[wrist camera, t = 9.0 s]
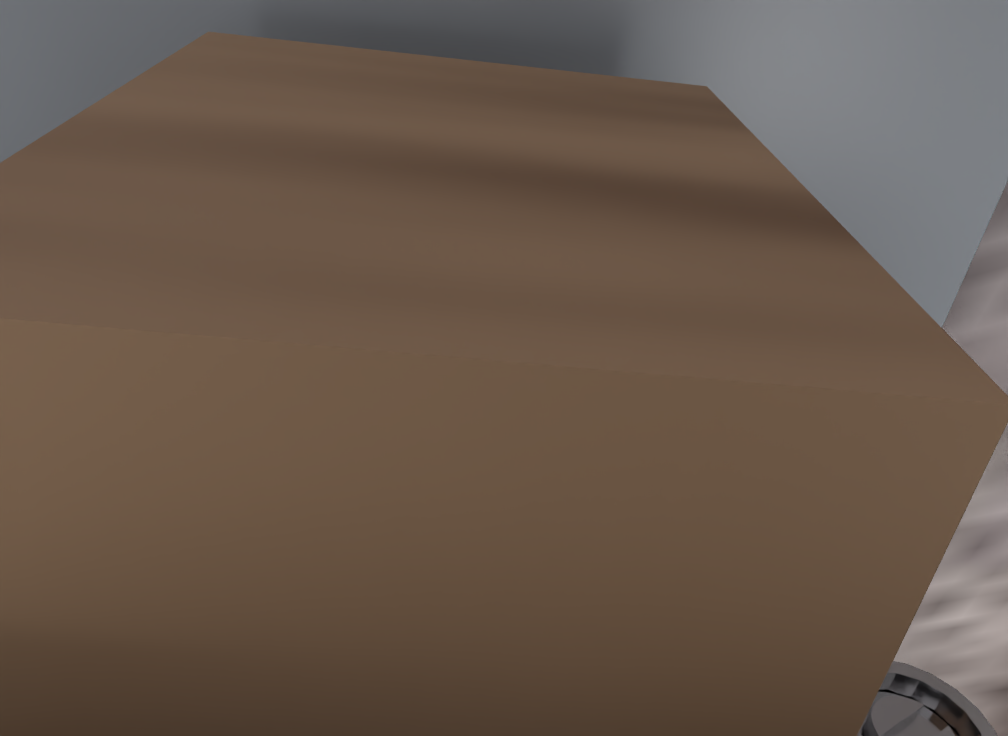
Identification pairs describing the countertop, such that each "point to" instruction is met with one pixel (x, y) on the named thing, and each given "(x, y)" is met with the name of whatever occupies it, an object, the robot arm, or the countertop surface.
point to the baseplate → (642, 55)
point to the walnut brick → (453, 412)
